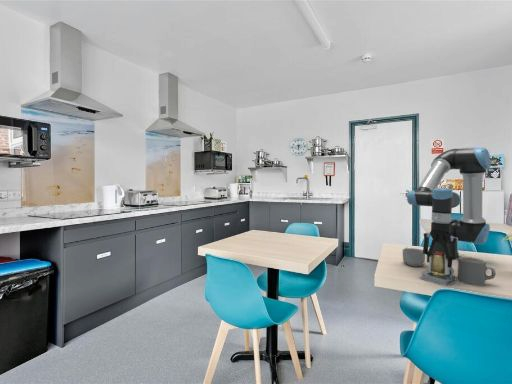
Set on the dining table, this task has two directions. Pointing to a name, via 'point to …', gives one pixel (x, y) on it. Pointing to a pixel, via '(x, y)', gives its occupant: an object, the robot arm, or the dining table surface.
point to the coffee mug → (473, 271)
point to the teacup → (413, 256)
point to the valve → (438, 263)
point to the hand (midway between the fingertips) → (438, 271)
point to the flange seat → (440, 278)
